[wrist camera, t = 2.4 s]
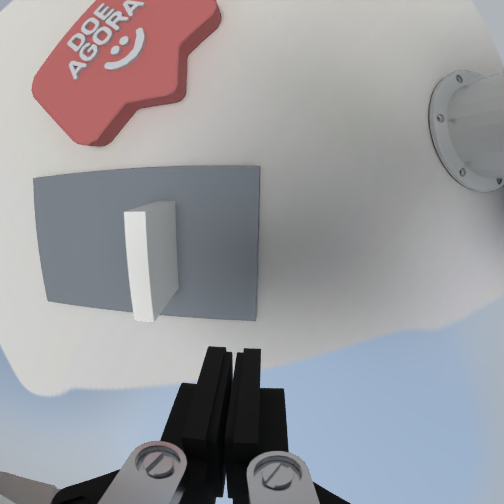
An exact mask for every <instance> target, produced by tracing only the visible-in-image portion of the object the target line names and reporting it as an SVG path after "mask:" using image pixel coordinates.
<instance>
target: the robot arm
mask: <svg viewBox="0 0 504 504" xmlns="http://www.w3.org/2000/svg"><path fill="white" fill-rule="evenodd" d="M437 119H438V120H437ZM429 121H430V128H431V134H432V138H433V142H434V145H435V148H436V150H437V153H438V155H439V157H440V159H441V161H442V163H443V164H444V166H445V168H446V169H447V170H448V172H449V173H450V174H451V175H452V177H454V178H455V179H456V180H457V181H458V182H459V183H460V184H462V185H463V186H465V187H467V188H469V189H472V190H475V191H481V192H490V191H494V190H497V189H499V188H500V187H502V186H503V185H504V72H503V73H500V74H496V75H493V76H490V77H487V78H485V77H483V76H481V75H479V74H477V73H474V72H471V71H458V72H454V73H452V74H450V75H448V76H446V77H445V78H443V79H442V80H441V81H440V82H439V84H438V85H437V86H436V88H435V90H434V92H433V95H432V98H431V103H430V114H429ZM260 364H261V349H248V348H244V352H243V353H240V352H237V357H236V363H235V370H234V377H233V367H232V352H226V347H211V346H209V347H208V350H207V353H206V356H205V359H204V363H203V366H202V369H201V372H200V376H199V379H198V382H197V384H190V383H182V384H181V386H180V388H179V391H178V394H177V397H176V399H175V402H174V405H173V407H172V410H171V413H170V415H169V418H168V421H167V423H166V426H165V429H164V432H163V435H162V437H161V440H160V441H151V442H147V443H144V444H142V445H140V446H138V447H137V448H136V449H135V450H134V451H133V452H132V453H131V455H130V456H129V457H128V459H127V460H126V462H125V464H124V465H123V466H122V468H121V469H120V470H117V471H114V472H111V473H109V474H106V475H103V476H100V477H97V478H94V479H91V480H89V481H85V482H82V483H79V484H75V485H72V486H69V487H66V488H64V489H57V488H56V487H55V486H54V485H50V484H46V483H42V482H38V481H33V480H30V479H26V478H23V477H19V476H16V475H13V474H9V473H6V472H0V504H215V501H216V497H223V492H224V485H225V477H227V490H228V498H233V504H350V503H349V502H347V501H345V500H343V499H341V498H340V497H338V496H336V495H334V494H333V493H331V492H329V491H328V490H326V489H324V488H322V487H321V486H319V485H317V484H316V483H314V482H313V481H312V478H311V475H310V472H309V469H308V467H307V465H306V463H305V462H304V461H303V460H302V459H301V458H300V457H298V456H296V455H294V454H292V453H289V452H288V438H287V423H286V408H285V397H284V396H285V395H284V389H283V388H280V389H279V388H275V389H274V388H260Z"/></svg>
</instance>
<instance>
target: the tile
mask: <svg viewBox="0 0 504 504" xmlns="http://www.w3.org/2000/svg"><path fill="white" fill-rule="evenodd" d="M124 223H125V239H126V252H127V264H128V274H129V283H130V292H131V300H132V307H133V314H134V320H136V321H146V322H155V320H156V319H157V317H158V316H159V315H160V313H161V312H162V310H163V309H164V308H165V306H166V305H167V303H168V302H169V301H170V299H171V298H172V296H173V295H174V294H175V292H176V291H177V289H178V288H179V284H178V266H177V244H176V209H175V201H157V202H153V203H150V204H147V205H144V206H140V207H137V208H134V209H131V210H128V211H125V212H124Z"/></svg>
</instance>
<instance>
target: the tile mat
mask: <svg viewBox="0 0 504 504" xmlns="http://www.w3.org/2000/svg"><path fill="white" fill-rule="evenodd" d="M259 179H260V166H172V167H149V168H132V169H117V170H104V171H93V172H83V173H73V174H64V175H56V176H48V177H41V178H33V184H34V205H35V219H36V229H37V239H38V247H39V254H40V261H41V267H42V273H43V279H44V285H45V290H46V295H47V300H48V301H50V302H57V303H63V304H70V305H77V306H84V307H92V308H100V309H108V310H117V311H126V312H133V307H132V300H131V292H130V283H129V274H128V264H127V252H126V239H125V223H124V212H125V211H128V210H131V209H134V208H137V207H140V206H144V205H147V204H150V203H153V202H157V201H175V209H176V244H177V266H178V284H179V288H178V289H177V291H176V292H175V294H174V295H173V296H172V298H171V299H170V301H169V302H168V303H167V305H166V306H165V308H164V309H163V310H162V312H161V313H160V315H167V316H179V317H193V318H208V319H225V320H246V321H256V298H257V261H258V222H259Z"/></svg>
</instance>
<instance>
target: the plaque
mask: <svg viewBox="0 0 504 504" xmlns="http://www.w3.org/2000/svg"><path fill="white" fill-rule="evenodd" d="M220 22H221V14H220V11H219V8H218V5H217V2H216V0H96V1H95V2H94V3H93V4H92V5H91V6H90V7H89V8H88V9H87V11H86V12H85V13H84V14H83V15H82V16H81V17H80V18H79V19H78V21H77V22H76V23H75V24H74V25H73V26H72V27H71V29H70V30H69V31H68V32H67V33H66V35H65V36H64V37H63V38H62V40H61V41H60V42H59V43H58V45H57V46H56V47H55V49H54V50H53V51H52V53H51V54H50V55H49V57H48V58H47V59H46V61H45V62H44V64H43V65H42V66H41V68H40V69H39V71H38V72H37V74H36V75H35V77H34V80H33V83H32V93H33V97H34V98H35V99H36V100H37V102H38V103H39V104H40V105H41V106H42V107H43V108H44V109H45V111H46V112H47V113H48V114H49V115H50V116H51V117H52V118H53V119H54V120H55V122H56V123H57V124H58V125H59V126H60V127H61V128H62V129H63V130H64V131H65V132H66V134H67V135H68V136H69V137H70V138H71V139H72V140H73V141H74V142H76V143H78V144H81V145H89V146H105V145H107V144H108V143H110V142H111V141H112V140H113V139H114V138H115V137H116V135H117V134H118V133H119V131H120V130H121V129H122V128H123V126H124V125H125V124H126V123H127V122H128V120H129V119H130V118H131V117H132V116H133V114H134V113H135V112H136V111H137V110H138V109H140V108H146V107H151V106H157V105H163V104H169V103H175V102H179V101H181V100H182V99H183V98H184V96H185V94H186V74H187V57H188V55H189V54H190V53H191V52H192V51H193V50H194V49H195V48H196V47H197V46H198V45H199V44H200V43H201V42H202V41H203V40H204V39H205V38H206V37H208V36H209V35H210V34H211V33H212V32H213V31H214V30H215V29H217V28H218V26H219V24H220Z"/></svg>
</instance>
